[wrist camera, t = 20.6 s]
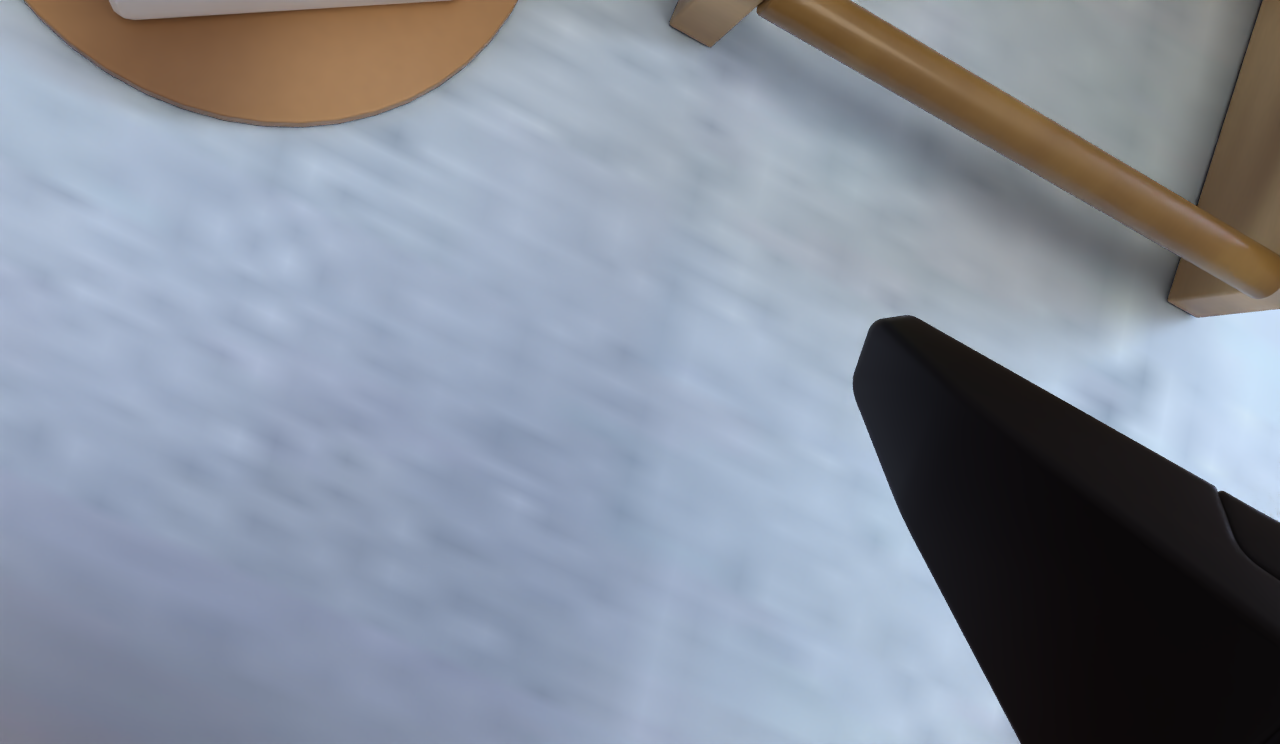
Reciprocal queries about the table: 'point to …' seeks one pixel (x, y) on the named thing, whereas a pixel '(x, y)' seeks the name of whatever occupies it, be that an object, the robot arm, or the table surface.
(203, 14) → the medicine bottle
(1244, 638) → the robot arm
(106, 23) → the cork coaster
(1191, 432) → the table surface
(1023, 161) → the spice rack
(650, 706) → the table surface
